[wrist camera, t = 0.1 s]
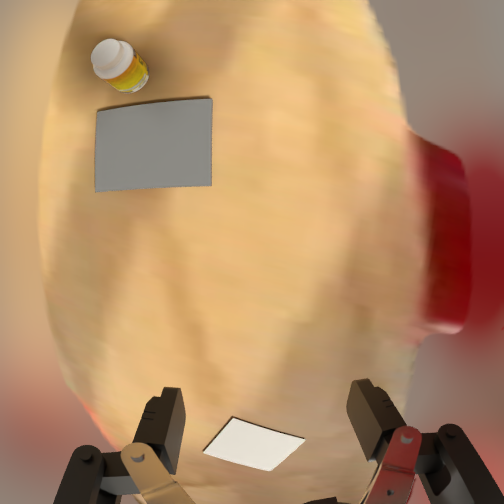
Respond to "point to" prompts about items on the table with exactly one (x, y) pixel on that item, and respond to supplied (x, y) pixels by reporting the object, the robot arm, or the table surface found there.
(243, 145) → the table surface
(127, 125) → the mat
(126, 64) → the supplement bottle
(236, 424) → the paper stack
